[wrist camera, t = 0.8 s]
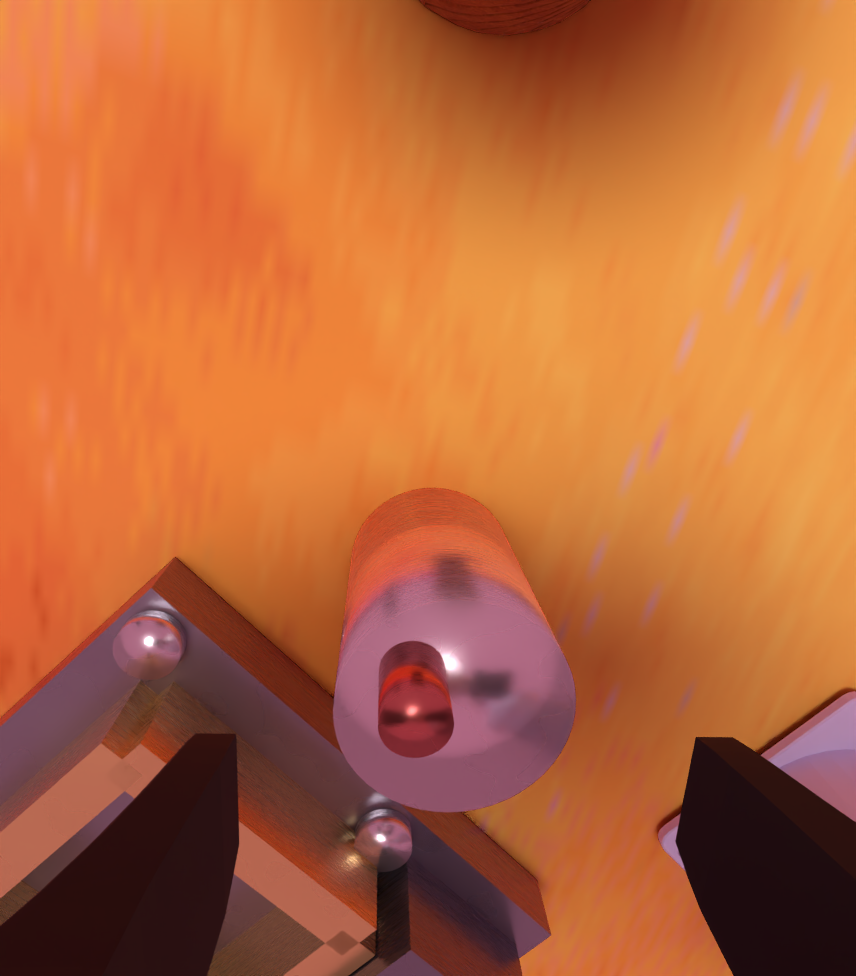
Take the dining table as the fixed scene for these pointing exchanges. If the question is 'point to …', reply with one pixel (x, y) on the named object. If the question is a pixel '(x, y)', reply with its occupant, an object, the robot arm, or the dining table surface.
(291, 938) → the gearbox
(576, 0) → the disposable coffee cup
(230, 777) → the robot arm
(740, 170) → the dining table surface
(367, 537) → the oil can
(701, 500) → the dining table surface
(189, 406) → the dining table surface
